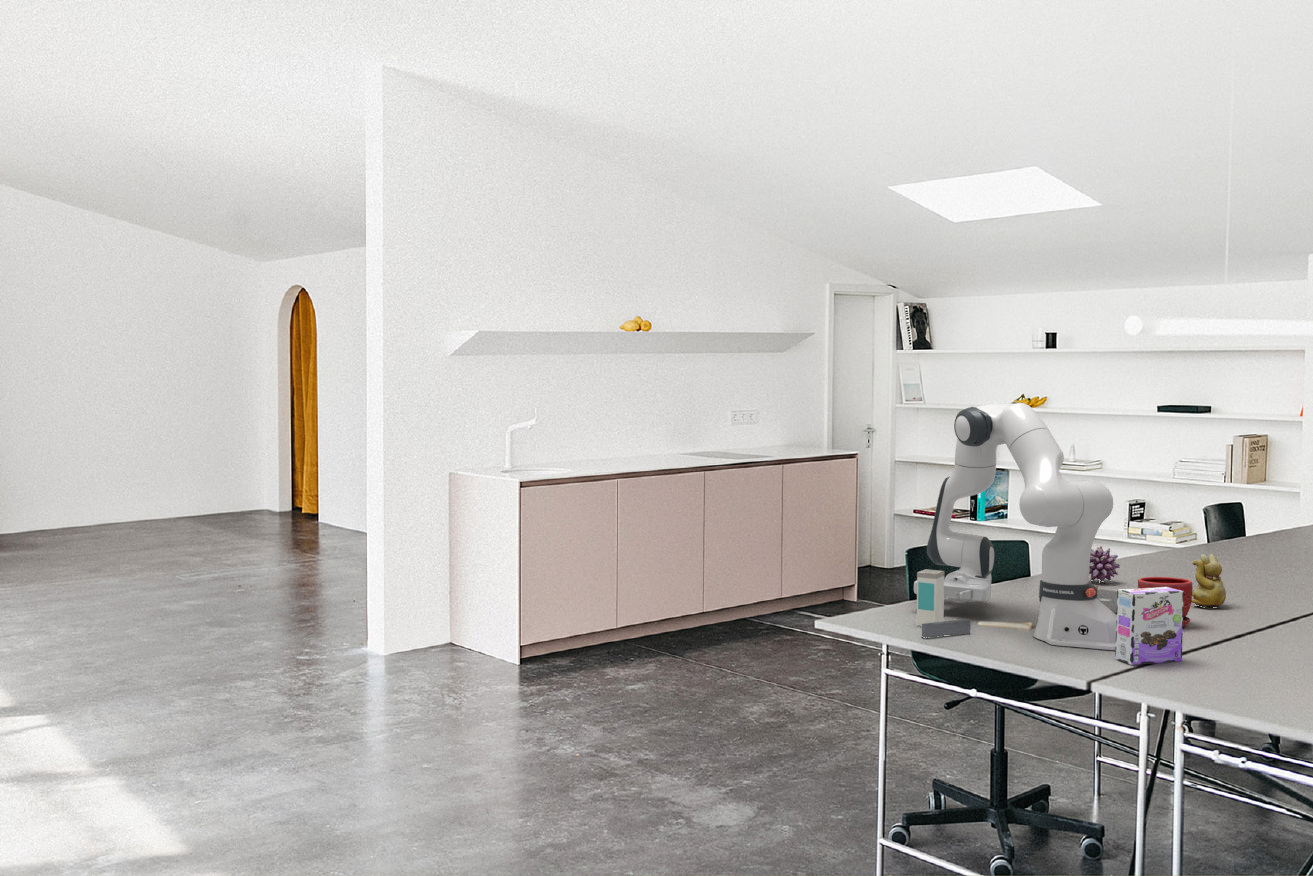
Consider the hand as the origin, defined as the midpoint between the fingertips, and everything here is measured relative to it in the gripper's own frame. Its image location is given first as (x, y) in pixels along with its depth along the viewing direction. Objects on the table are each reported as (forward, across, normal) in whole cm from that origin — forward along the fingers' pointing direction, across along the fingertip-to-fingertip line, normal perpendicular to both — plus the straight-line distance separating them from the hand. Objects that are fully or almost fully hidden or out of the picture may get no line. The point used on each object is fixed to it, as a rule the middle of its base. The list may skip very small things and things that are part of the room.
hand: (941, 594), depth 303 cm
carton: (+8, 0, +7) cm, 10 cm away
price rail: (+18, +8, +7) cm, 21 cm away
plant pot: (-28, +50, +7) cm, 58 cm away
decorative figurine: (-60, +56, +7) cm, 82 cm away
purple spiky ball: (-82, +21, +7) cm, 85 cm away
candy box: (+16, +55, +7) cm, 58 cm away
